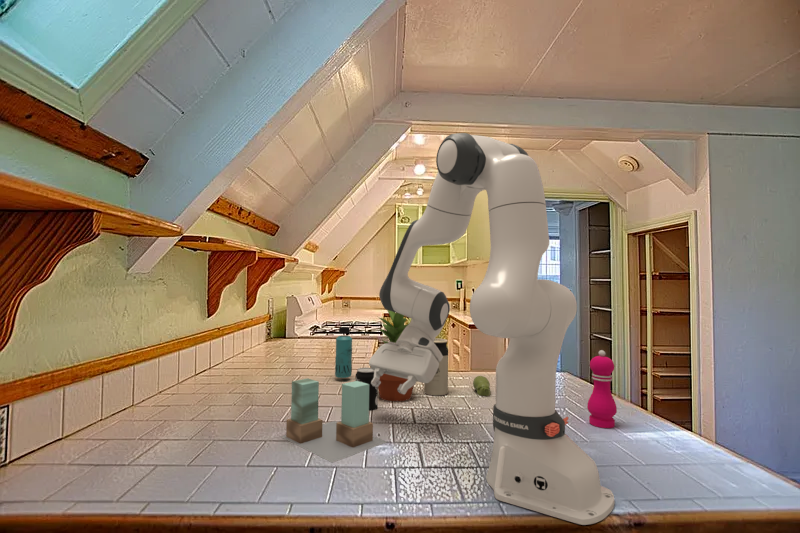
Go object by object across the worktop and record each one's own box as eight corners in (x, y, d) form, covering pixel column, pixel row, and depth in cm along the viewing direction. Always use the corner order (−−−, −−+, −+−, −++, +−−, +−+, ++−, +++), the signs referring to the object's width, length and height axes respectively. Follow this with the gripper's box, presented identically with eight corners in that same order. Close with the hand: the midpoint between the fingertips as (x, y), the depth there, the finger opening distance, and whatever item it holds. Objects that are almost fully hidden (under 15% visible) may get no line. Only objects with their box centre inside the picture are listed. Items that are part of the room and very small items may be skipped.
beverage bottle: (332, 381, 159) (333, 327, 160) (337, 377, 166) (338, 325, 166) (349, 382, 158) (350, 328, 159) (354, 378, 165) (354, 326, 165)
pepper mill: (620, 424, 116) (620, 350, 117) (611, 431, 111) (611, 353, 111) (592, 418, 121) (592, 347, 121) (583, 424, 116) (583, 350, 116)
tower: (322, 436, 101) (323, 381, 102) (300, 443, 97) (301, 385, 97) (307, 430, 105) (308, 377, 106) (286, 436, 101) (287, 381, 101)
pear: (487, 373, 151) (494, 385, 141) (486, 387, 152) (493, 400, 142) (471, 373, 151) (477, 385, 141) (471, 387, 152) (476, 400, 142)
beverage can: (374, 415, 121) (374, 372, 121) (351, 413, 122) (352, 371, 123) (379, 408, 127) (380, 367, 128) (358, 406, 129) (359, 366, 129)
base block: (372, 440, 99) (372, 423, 100) (352, 447, 95) (353, 429, 95) (355, 433, 104) (356, 417, 104) (336, 440, 99) (336, 422, 99)
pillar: (368, 423, 99) (369, 384, 100) (353, 427, 96) (354, 387, 96) (356, 418, 103) (356, 380, 103) (341, 422, 99) (341, 384, 100)
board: (387, 446, 99) (387, 441, 99) (332, 467, 87) (332, 462, 87) (334, 424, 113) (334, 420, 113) (280, 440, 101) (280, 436, 101)
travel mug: (432, 388, 151) (432, 337, 151) (452, 392, 146) (452, 339, 147) (419, 393, 144) (420, 340, 145) (440, 397, 140) (440, 342, 140)
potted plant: (412, 405, 130) (413, 307, 131) (366, 400, 135) (367, 305, 136) (425, 393, 144) (426, 304, 145) (383, 389, 149) (384, 303, 150)
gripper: (380, 334, 120) (353, 374, 113) (437, 342, 106) (411, 389, 99) (391, 348, 123) (365, 388, 116) (448, 358, 109) (423, 404, 102)
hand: (386, 388), depth 107 cm, fingers open, 8 cm apart
